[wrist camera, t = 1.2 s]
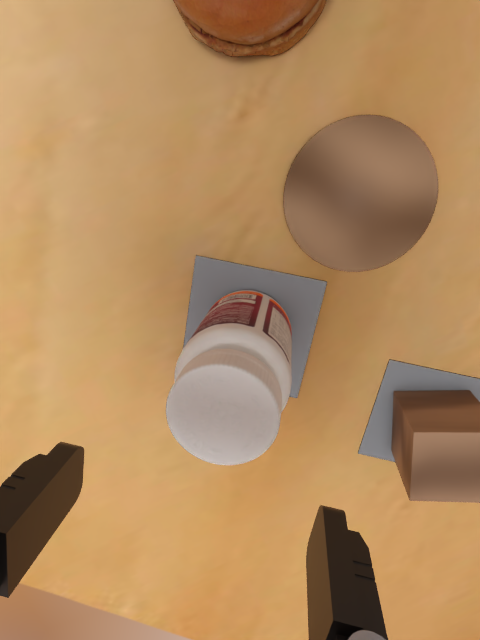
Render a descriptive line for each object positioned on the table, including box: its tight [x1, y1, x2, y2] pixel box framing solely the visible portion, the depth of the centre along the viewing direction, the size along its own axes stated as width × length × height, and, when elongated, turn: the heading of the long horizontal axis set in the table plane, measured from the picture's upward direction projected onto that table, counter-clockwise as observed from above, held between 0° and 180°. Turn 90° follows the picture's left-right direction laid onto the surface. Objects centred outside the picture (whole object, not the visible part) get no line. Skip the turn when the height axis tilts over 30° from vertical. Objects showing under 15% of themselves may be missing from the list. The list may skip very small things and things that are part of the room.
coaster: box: [284, 115, 438, 272], centre depth 24 cm, size 9×9×1 cm
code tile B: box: [358, 360, 480, 462], centre depth 28 cm, size 8×8×1 cm
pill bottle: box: [166, 290, 292, 465], centre depth 22 cm, size 6×6×11 cm
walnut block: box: [391, 390, 480, 503], centre depth 26 cm, size 5×5×5 cm
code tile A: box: [183, 255, 327, 398], centre depth 28 cm, size 9×9×1 cm
